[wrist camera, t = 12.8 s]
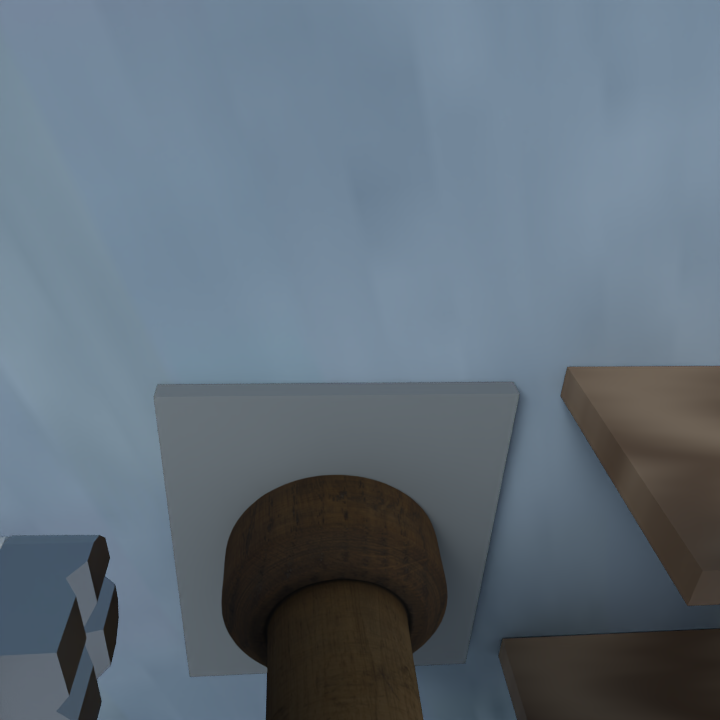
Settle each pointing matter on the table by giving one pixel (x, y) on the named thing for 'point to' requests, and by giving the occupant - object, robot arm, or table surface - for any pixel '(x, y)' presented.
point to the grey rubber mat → (329, 457)
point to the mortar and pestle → (335, 597)
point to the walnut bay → (666, 536)
